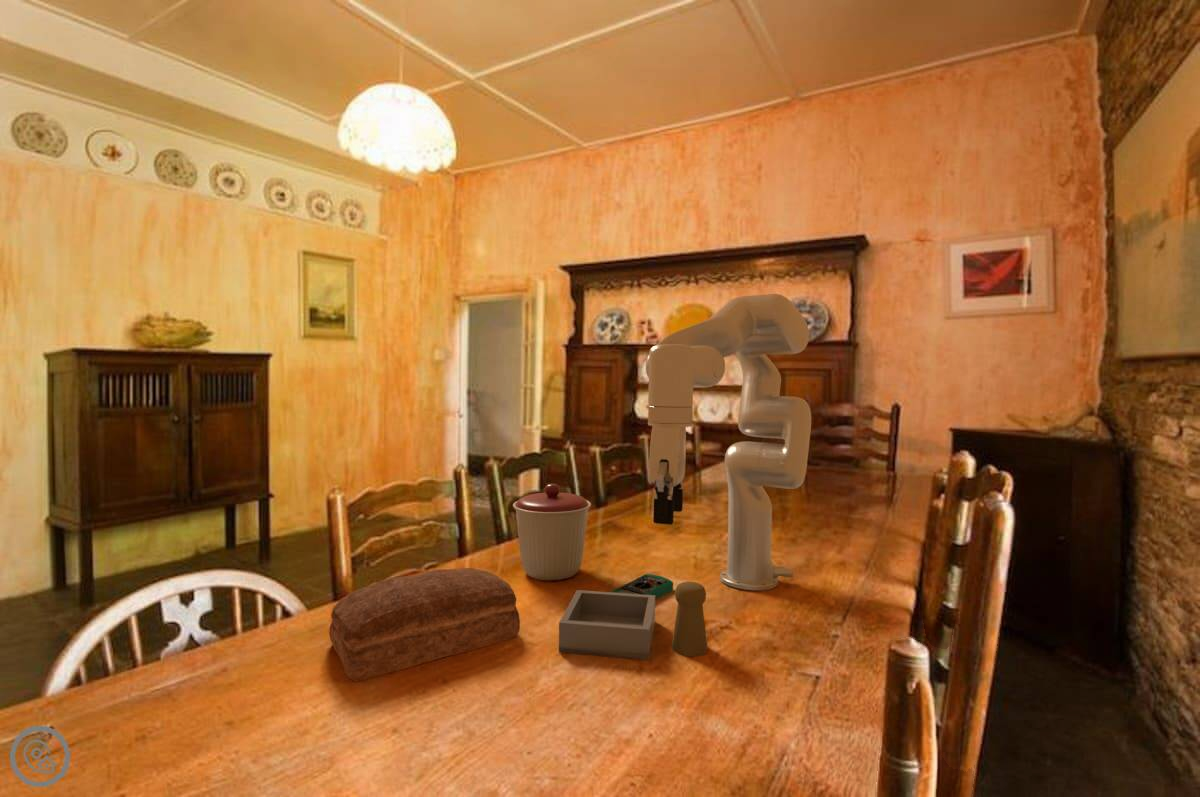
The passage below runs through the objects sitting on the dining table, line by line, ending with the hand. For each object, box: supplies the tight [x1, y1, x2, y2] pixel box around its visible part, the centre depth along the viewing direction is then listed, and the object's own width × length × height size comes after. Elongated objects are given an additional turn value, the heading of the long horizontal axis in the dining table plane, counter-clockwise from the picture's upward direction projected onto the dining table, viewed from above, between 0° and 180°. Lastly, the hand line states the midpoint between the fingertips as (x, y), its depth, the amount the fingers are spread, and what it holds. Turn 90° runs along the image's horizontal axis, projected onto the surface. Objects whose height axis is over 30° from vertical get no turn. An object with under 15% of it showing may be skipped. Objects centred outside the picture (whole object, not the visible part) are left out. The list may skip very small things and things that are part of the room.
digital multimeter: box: [610, 573, 674, 601], centre depth 121 cm, size 7×15×3 cm, turn 143°
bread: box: [328, 567, 521, 682], centre depth 100 cm, size 17×29×11 cm, turn 125°
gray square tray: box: [558, 589, 656, 661], centre depth 102 cm, size 15×15×5 cm
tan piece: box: [671, 581, 709, 657], centre depth 98 cm, size 6×6×11 cm
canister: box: [512, 483, 592, 581], centre depth 134 cm, size 18×18×21 cm
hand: (668, 516), depth 99 cm, fingers open, 9 cm apart
